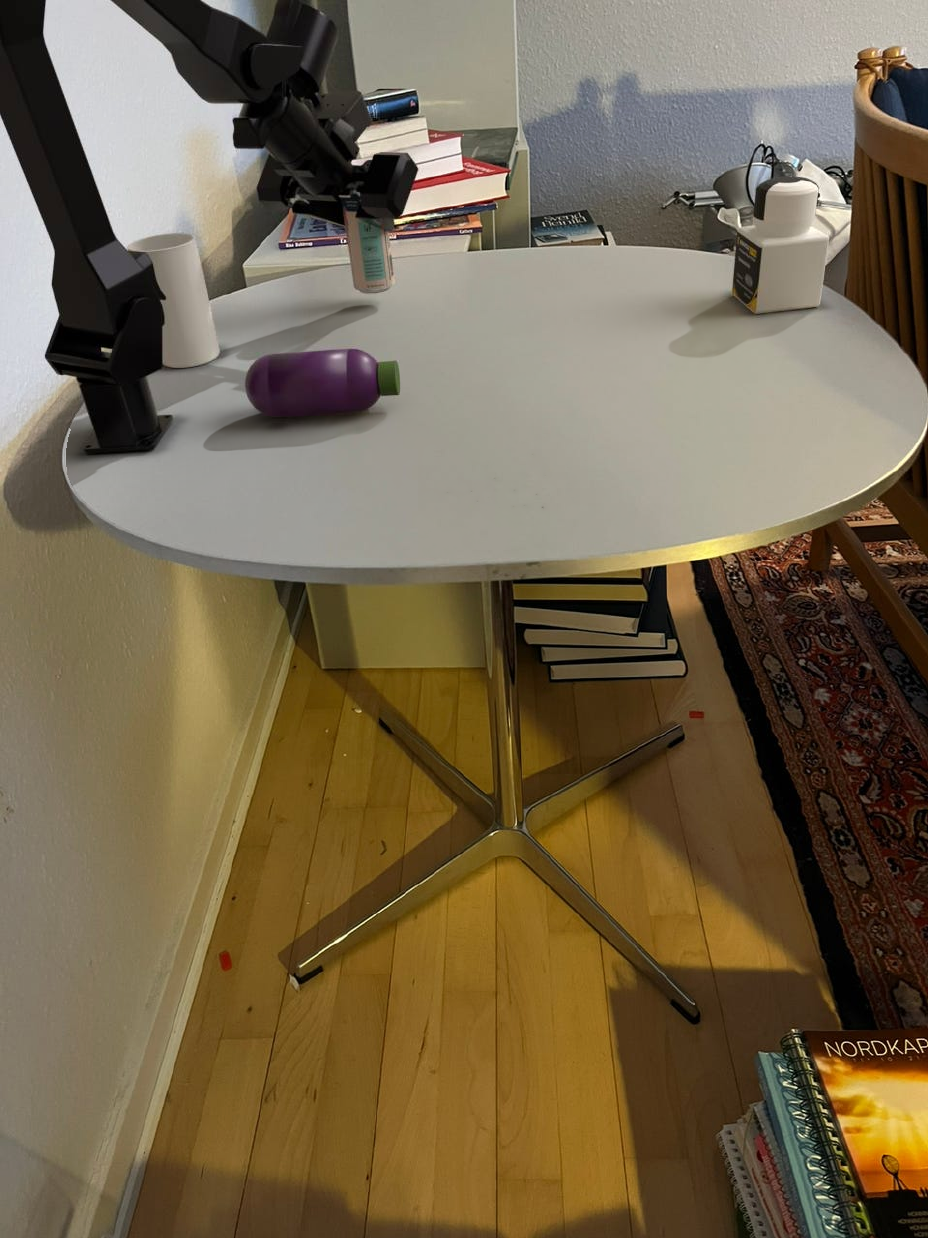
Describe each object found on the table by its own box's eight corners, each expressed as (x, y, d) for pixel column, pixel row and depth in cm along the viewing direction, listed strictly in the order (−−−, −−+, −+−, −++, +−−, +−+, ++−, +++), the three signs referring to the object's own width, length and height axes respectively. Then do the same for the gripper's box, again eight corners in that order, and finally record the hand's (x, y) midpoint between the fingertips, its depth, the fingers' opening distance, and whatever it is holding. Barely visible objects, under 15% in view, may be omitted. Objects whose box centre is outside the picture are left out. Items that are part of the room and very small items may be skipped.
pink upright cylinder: (377, 280, 113) (363, 172, 106) (403, 286, 110) (391, 175, 103) (346, 290, 111) (330, 180, 104) (372, 297, 108) (357, 184, 101)
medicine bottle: (730, 294, 104) (740, 176, 97) (793, 287, 104) (808, 169, 97) (753, 315, 98) (766, 191, 91) (820, 307, 98) (838, 183, 91)
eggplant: (259, 404, 90) (246, 346, 86) (404, 394, 89) (396, 336, 85) (246, 429, 85) (232, 369, 82) (398, 419, 84) (390, 359, 81)
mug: (218, 365, 99) (189, 246, 92) (154, 372, 99) (120, 254, 92) (229, 333, 107) (203, 222, 100) (170, 340, 107) (140, 229, 100)
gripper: (396, 61, 90) (466, 164, 104) (252, 65, 99) (334, 160, 113) (358, 168, 89) (433, 257, 103) (216, 162, 98) (303, 245, 112)
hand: (374, 226), depth 108 cm, fingers closed on pink upright cylinder, 5 cm apart
